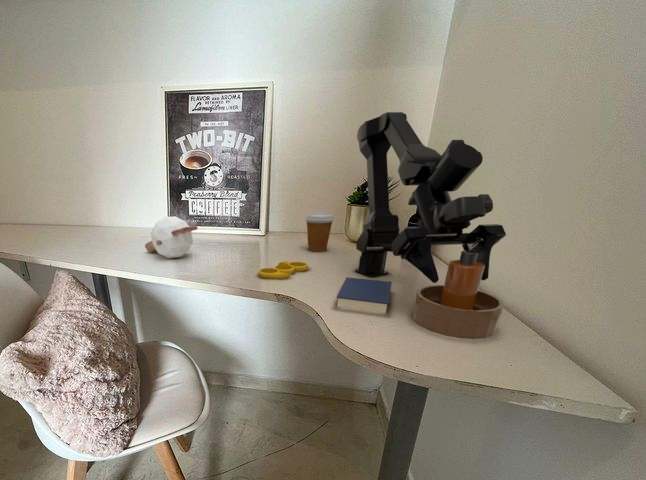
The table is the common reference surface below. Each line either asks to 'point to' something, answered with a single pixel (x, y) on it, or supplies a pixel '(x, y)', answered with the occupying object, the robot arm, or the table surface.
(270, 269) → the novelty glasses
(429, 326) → the wooden bowl
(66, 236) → the table surface
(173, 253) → the stuffed white mouse
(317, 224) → the disposable coffee cup
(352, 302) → the book
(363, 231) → the robot arm
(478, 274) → the amber bottle
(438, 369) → the table surface
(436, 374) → the table surface
